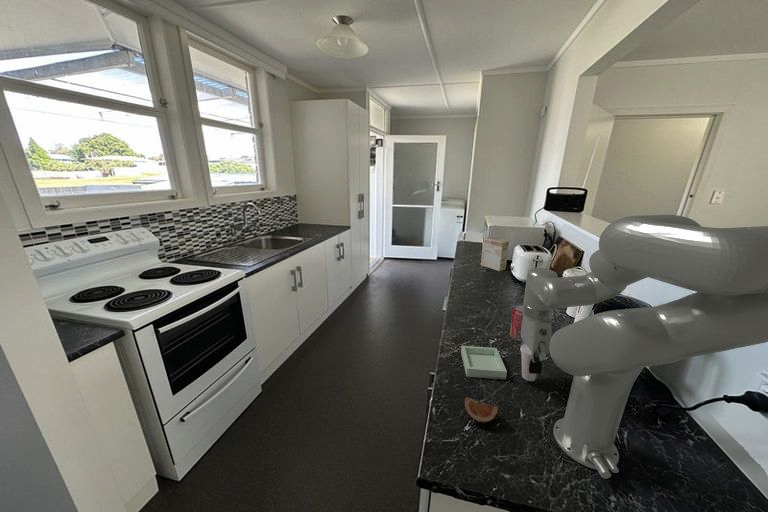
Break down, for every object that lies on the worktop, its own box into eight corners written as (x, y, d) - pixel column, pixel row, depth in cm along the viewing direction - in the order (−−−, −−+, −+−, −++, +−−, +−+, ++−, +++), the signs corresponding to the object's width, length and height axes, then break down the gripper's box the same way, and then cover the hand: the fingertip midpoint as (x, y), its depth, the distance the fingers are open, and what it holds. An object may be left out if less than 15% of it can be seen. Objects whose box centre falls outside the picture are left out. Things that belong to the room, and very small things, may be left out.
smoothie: (527, 386, 80) (533, 344, 77) (512, 372, 86) (517, 332, 83) (545, 381, 82) (552, 340, 78) (529, 368, 88) (534, 329, 84)
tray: (505, 379, 86) (507, 371, 85) (466, 376, 87) (467, 368, 86) (495, 355, 97) (496, 348, 96) (460, 352, 98) (461, 345, 98)
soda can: (532, 344, 103) (537, 313, 99) (511, 342, 104) (516, 311, 101) (526, 334, 110) (531, 304, 106) (507, 332, 111) (511, 303, 107)
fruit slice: (497, 412, 74) (499, 397, 73) (495, 433, 68) (498, 417, 67) (465, 402, 77) (466, 388, 76) (461, 421, 71) (463, 406, 70)
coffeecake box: (505, 269, 182) (509, 241, 176) (499, 271, 179) (502, 242, 173) (487, 263, 194) (490, 236, 189) (480, 265, 191) (483, 238, 185)
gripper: (567, 326, 70) (556, 386, 74) (538, 299, 86) (531, 349, 91) (535, 325, 71) (527, 384, 75) (513, 298, 87) (508, 348, 92)
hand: (530, 365), depth 83 cm, fingers closed on smoothie, 6 cm apart
